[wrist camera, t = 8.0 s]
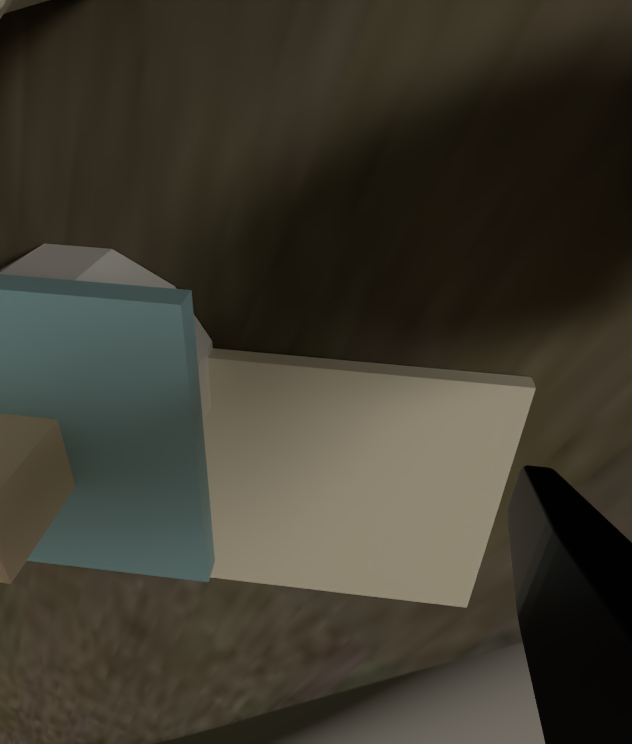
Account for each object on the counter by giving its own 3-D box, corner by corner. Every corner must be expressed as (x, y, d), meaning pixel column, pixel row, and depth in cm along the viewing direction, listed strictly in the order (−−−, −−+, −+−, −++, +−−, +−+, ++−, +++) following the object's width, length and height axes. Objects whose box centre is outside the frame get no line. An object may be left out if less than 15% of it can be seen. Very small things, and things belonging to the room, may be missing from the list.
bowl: (206, 256, 21) (161, 315, 16) (220, 457, 26) (188, 540, 22) (-47, 236, 21) (-152, 288, 17) (18, 436, 27) (-50, 513, 22)
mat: (531, 376, 22) (535, 388, 21) (465, 594, 30) (466, 607, 29) (189, 346, 23) (183, 355, 22) (209, 564, 30) (206, 576, 30)
